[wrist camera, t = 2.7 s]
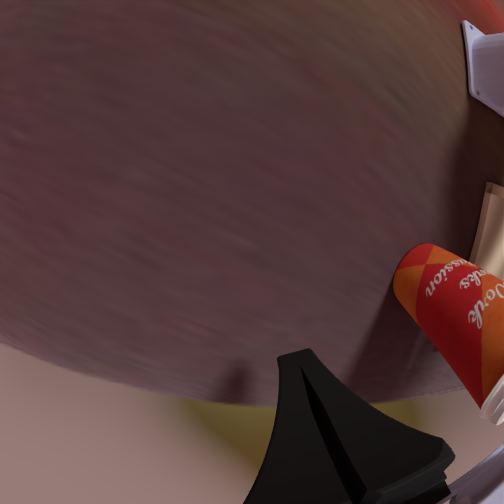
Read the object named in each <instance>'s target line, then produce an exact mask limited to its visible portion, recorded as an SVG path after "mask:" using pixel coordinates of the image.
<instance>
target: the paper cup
mask: <svg viewBox="0 0 504 504" xmlns="http://www.w3.org/2000/svg"><path fill="white" fill-rule="evenodd" d="M393 290H394V294H395V296H396V297H397V299H398V300H399V302H400V303H401V304H402V306H403V307H404V308H405V309H406V310H407V312H408V313H409V314H410V315H411V317H412V318H413V319H414V320H415V322H416V323H417V324H418V325H419V327H420V328H421V329H422V330H423V332H424V333H425V334H426V335H427V337H428V338H429V339H430V340H431V342H432V343H433V344H434V345H435V347H436V348H437V349H438V351H439V352H440V353H441V355H442V356H443V357H444V358H445V360H446V361H447V362H448V364H449V365H450V366H451V368H452V369H453V371H454V372H455V373H456V375H457V376H458V377H459V379H460V380H461V382H462V383H463V384H464V386H465V387H466V389H467V390H468V392H469V393H470V394H471V396H472V397H473V399H474V400H475V401H476V403H477V405H478V406H479V408H480V409H481V410H480V413H479V417H480V418H482V419H486V418H487V419H488V420H490V421H491V422H492V423H493V424H494V425H498V424H501V423H502V422H503V421H504V281H502V280H501V279H499V278H497V277H496V276H494V275H492V274H490V273H489V272H487V271H485V270H483V269H481V268H479V267H478V266H476V265H474V264H472V263H470V262H468V261H466V260H464V259H463V258H461V257H459V256H457V255H455V254H453V253H451V252H449V251H447V250H444V249H442V248H440V247H438V246H436V245H433V244H429V243H423V244H420V245H417V246H415V247H414V248H412V249H411V250H410V251H409V252H408V253H407V254H406V255H405V256H404V257H403V258H402V260H401V261H400V263H399V265H398V267H397V269H396V272H395V275H394V279H393Z"/></svg>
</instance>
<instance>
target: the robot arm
mask: <svg viewBox="0 0 504 504" xmlns="http://www.w3.org/2000/svg"><path fill="white" fill-rule="evenodd" d="M462 26H463V32H464V39H465V46H466V55H467V65H468V80H469V92H470V94H471V96H473V97H474V98H476V99H477V100H479V101H481V102H482V103H484V104H485V105H487V106H488V107H490V108H491V109H493V110H494V111H495V112H497V113H498V114H500V115H501V116H503V117H504V33H498V34H492V35H484V34H483V33H482V32H480V31H479V30H478V29H477V28H475V27H474V26H473V25H471V24H470V23H469V22H467V21H462ZM277 362H278V367H279V393H278V404H277V410H276V417H275V422H274V427H273V431H272V435H271V439H270V442H269V445H268V449H267V452H266V455H265V458H264V460H263V463H262V466H261V468H260V470H259V473H258V475H257V477H256V480H255V482H254V484H253V486H252V488H251V490H250V492H249V494H248V496H247V497H246V499H245V501H244V503H243V504H443V503H445V502H446V501H448V500H449V499H451V500H450V502H449V504H504V443H503V444H502V445H501V446H500V447H499V448H497V449H496V450H495V451H494V452H493V453H491V454H490V455H489V456H488V457H487V458H485V459H484V460H483V461H482V462H480V463H479V464H478V465H476V466H475V467H474V468H472V469H471V470H470V471H468V472H467V473H466V474H464V475H463V476H461V477H460V478H459V479H457V480H456V481H454V482H453V483H451V484H450V485H448V486H447V484H446V482H445V479H446V478H447V477H446V475H445V473H444V470H445V469H446V468H447V467H448V466H449V465H450V464H451V463H452V462H453V461H454V459H455V454H454V452H453V451H452V449H451V448H450V447H449V445H448V444H447V443H446V442H445V441H444V440H443V439H442V438H440V437H436V436H433V435H430V434H427V433H424V432H421V431H418V430H416V429H414V428H411V427H409V426H407V425H405V424H403V423H401V422H399V421H396V420H395V419H393V418H391V417H389V416H387V415H385V414H384V413H382V412H380V411H379V410H377V409H375V408H374V407H372V406H371V405H369V404H368V403H367V402H365V401H364V400H362V399H361V398H360V397H358V396H357V395H356V394H355V393H353V392H352V391H351V390H350V389H349V388H347V387H346V386H345V385H344V384H343V383H342V382H341V381H340V380H339V379H337V378H336V377H335V376H334V375H333V374H332V373H331V372H330V371H329V370H328V369H327V368H326V366H325V365H324V364H323V363H322V362H321V361H320V360H319V359H318V357H317V356H316V355H315V354H314V352H313V351H312V350H311V349H309V348H308V349H304V350H300V351H297V352H293V353H289V354H285V355H281V356H279V357H278V358H277Z"/></svg>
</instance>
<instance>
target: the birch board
mask: <svg viewBox="0 0 504 504" xmlns="http://www.w3.org/2000/svg"><path fill="white" fill-rule="evenodd" d="M469 262H470V263H472V264H474V265H476V266H478V267H479V268H481V269H483V270H485V271H487V272H489V273H490V274H492V275H494V276H496V277H497V278H499V279H501V280H502V281H504V187H501V186H499V185H496V184H494V183H491V182H487V181H486V186H485V193H484V199H483V204H482V210H481V215H480V219H479V224H478V228H477V233H476V237H475V241H474V244H473V248H472V252H471V255H470V259H469Z"/></svg>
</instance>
